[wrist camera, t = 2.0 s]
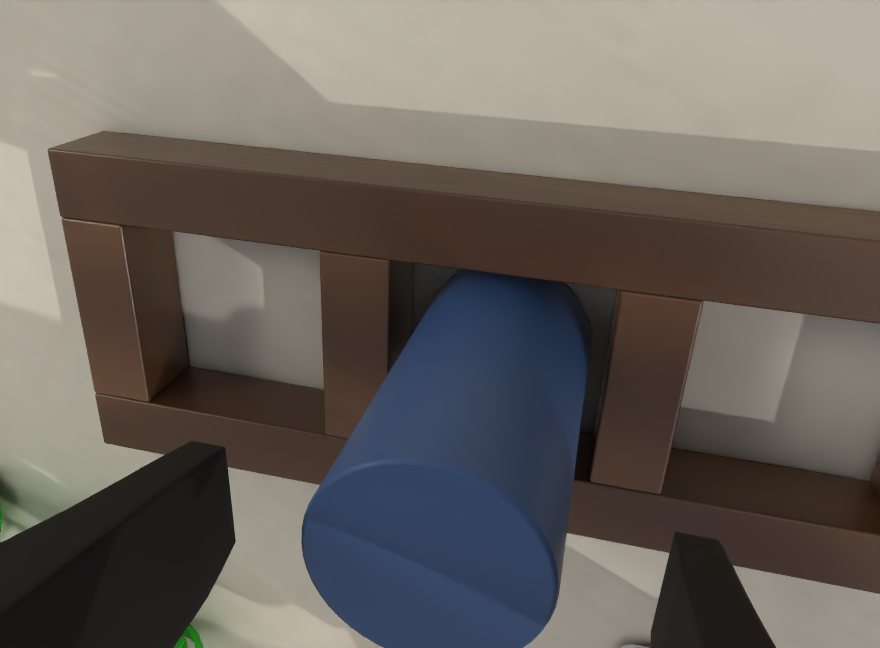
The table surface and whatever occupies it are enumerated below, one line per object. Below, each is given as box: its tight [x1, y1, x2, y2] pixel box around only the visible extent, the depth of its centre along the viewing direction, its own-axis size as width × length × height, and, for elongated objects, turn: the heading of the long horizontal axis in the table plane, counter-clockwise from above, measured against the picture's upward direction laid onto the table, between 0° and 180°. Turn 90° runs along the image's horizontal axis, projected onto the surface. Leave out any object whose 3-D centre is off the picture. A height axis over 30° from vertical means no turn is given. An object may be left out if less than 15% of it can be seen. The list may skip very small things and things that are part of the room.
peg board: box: [48, 131, 880, 594], centre depth 17 cm, size 8×21×2 cm, turn 88°
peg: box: [302, 269, 591, 648], centre depth 15 cm, size 4×4×8 cm
